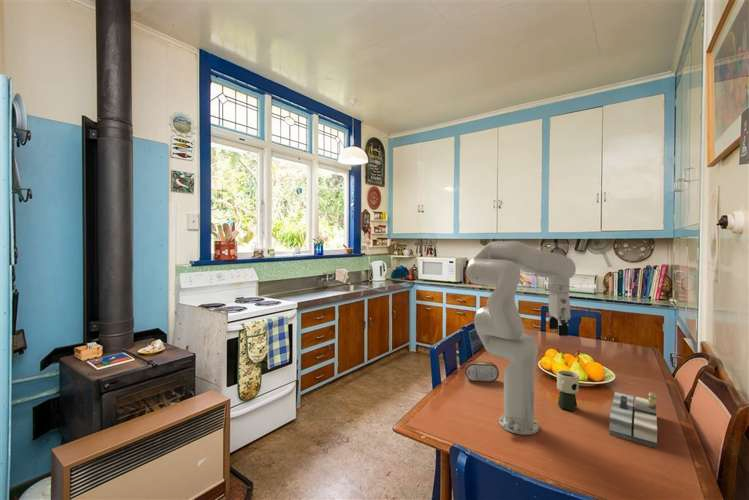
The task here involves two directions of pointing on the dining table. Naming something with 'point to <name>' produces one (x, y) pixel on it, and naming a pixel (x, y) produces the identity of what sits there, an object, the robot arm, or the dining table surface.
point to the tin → (481, 371)
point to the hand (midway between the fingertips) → (558, 332)
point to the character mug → (567, 389)
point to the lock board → (633, 420)
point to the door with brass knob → (651, 405)
